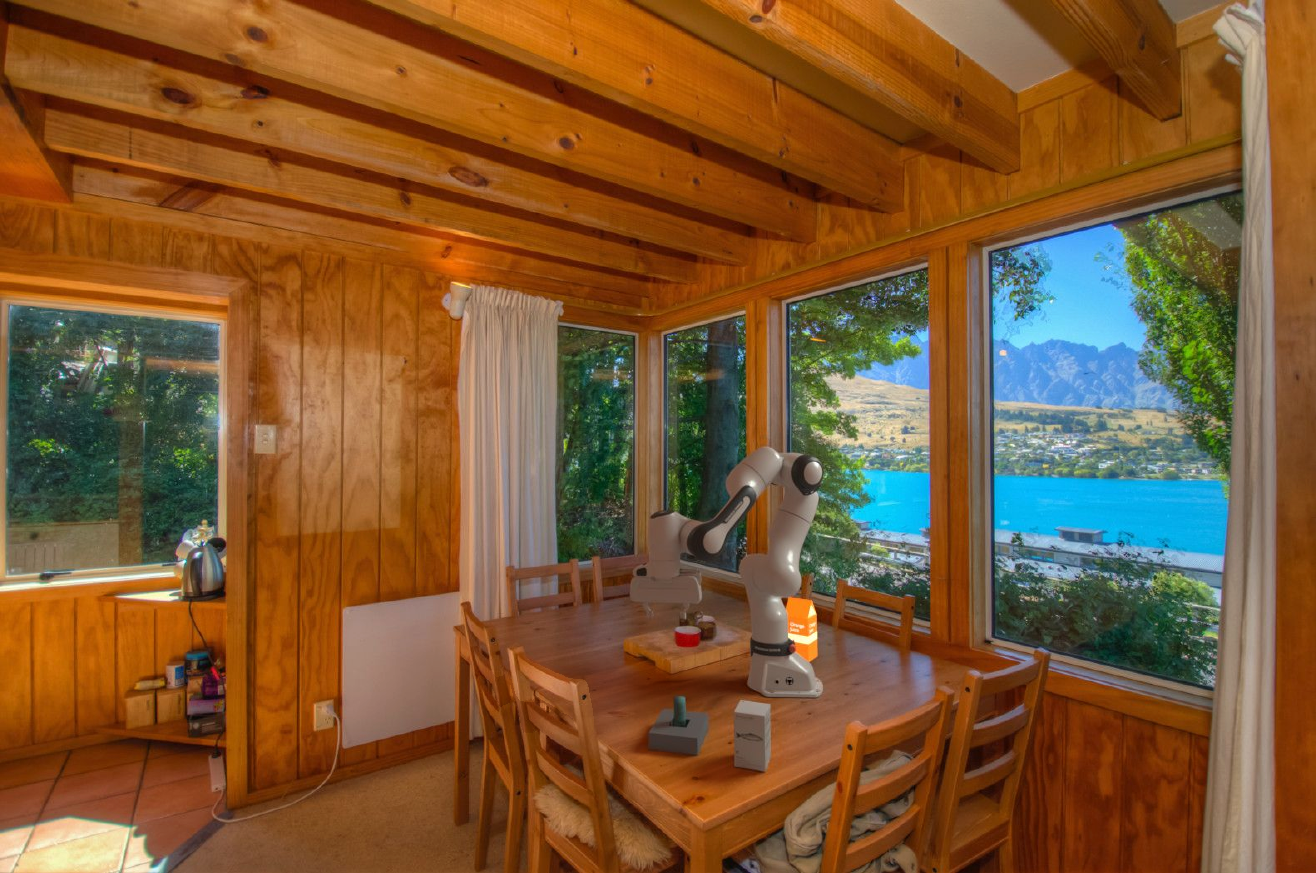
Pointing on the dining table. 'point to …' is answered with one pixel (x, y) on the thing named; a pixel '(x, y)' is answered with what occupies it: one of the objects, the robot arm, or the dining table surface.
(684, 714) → the teal peg
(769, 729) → the supplement box
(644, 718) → the dining table surface
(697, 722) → the hole block
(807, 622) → the orange juice
